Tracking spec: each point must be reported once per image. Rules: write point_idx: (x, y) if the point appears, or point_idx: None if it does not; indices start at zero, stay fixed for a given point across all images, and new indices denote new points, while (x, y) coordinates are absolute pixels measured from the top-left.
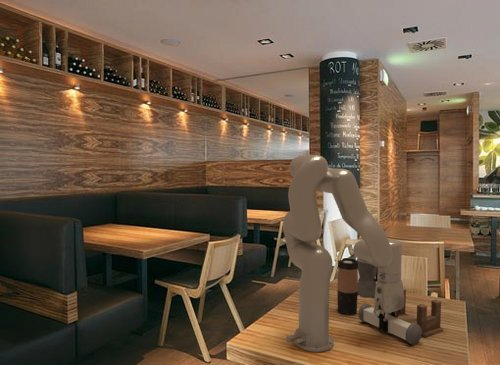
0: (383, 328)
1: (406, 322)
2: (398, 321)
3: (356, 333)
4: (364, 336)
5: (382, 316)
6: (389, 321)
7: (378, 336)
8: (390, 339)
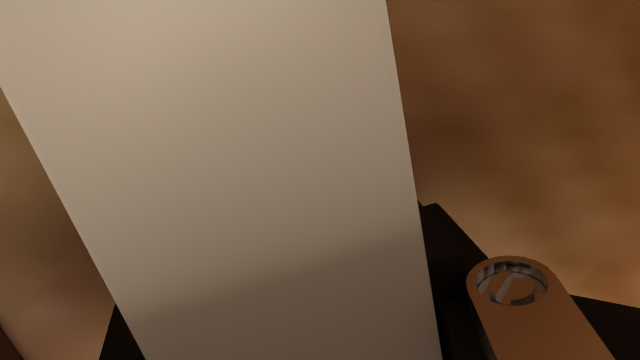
0: (437, 208)
1: (19, 42)
2: (241, 161)
3: (630, 264)
4: (616, 187)
5: (626, 342)
6: (417, 238)
7: (476, 152)
8: (393, 31)
